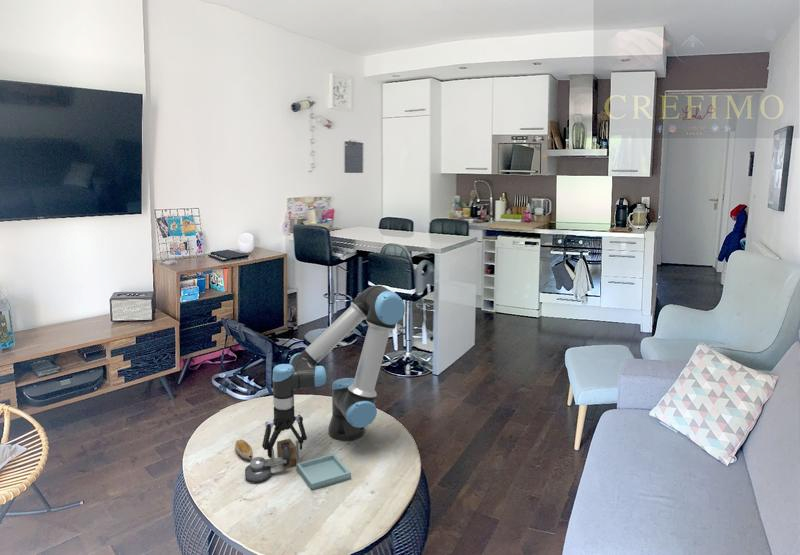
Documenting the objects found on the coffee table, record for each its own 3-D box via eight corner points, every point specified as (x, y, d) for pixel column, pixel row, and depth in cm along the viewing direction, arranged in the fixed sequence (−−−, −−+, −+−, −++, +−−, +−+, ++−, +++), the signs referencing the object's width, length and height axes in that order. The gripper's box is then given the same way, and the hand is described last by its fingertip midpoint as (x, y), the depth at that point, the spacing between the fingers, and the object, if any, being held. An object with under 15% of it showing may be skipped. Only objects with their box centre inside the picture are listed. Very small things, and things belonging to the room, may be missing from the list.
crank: (251, 473, 198) (250, 452, 197) (250, 466, 203) (249, 446, 201) (290, 467, 203) (290, 446, 201) (288, 460, 208) (287, 440, 206)
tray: (333, 459, 214) (333, 453, 214) (351, 478, 202) (350, 472, 201) (296, 469, 207) (296, 463, 206) (311, 490, 194) (311, 484, 194)
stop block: (290, 457, 215) (289, 438, 214) (296, 466, 209) (296, 446, 208) (277, 460, 213) (276, 441, 211) (283, 469, 207) (283, 449, 205)
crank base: (241, 471, 205) (240, 464, 204) (265, 465, 209) (265, 458, 209) (249, 486, 196) (248, 478, 195) (274, 479, 201) (274, 471, 200)
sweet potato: (243, 464, 210) (242, 453, 209) (232, 448, 222) (232, 437, 221) (256, 460, 213) (256, 450, 212) (245, 444, 224) (245, 434, 224)
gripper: (308, 396, 216) (309, 449, 221) (251, 408, 205) (253, 463, 210) (315, 403, 210) (316, 458, 215) (257, 416, 199) (259, 473, 204)
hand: (285, 461), depth 212 cm, fingers open, 9 cm apart
